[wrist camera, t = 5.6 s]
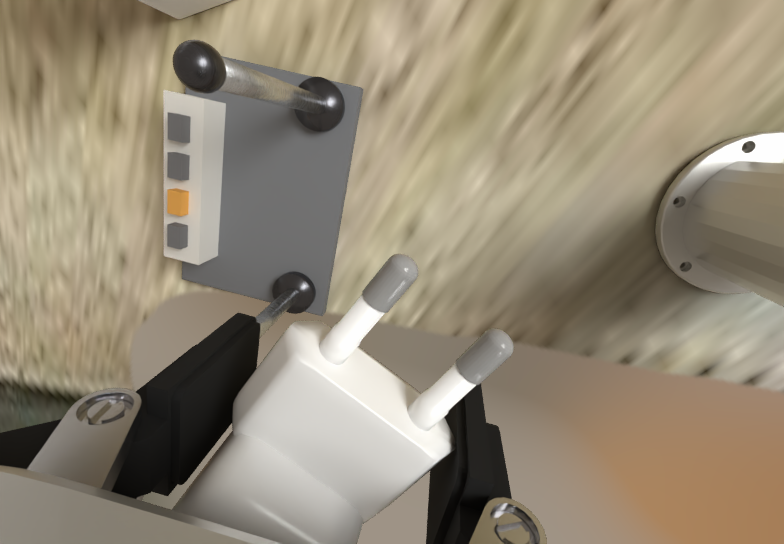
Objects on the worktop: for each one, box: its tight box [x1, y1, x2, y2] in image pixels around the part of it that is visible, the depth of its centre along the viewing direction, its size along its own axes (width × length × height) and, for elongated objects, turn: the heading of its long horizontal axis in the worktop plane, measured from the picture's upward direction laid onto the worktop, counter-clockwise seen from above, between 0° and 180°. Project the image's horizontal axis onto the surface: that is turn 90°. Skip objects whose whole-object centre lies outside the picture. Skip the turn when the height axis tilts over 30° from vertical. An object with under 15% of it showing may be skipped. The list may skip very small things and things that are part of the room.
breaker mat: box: [164, 56, 363, 316], centre depth 32 cm, size 15×21×5 cm
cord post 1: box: [173, 40, 345, 132], centre depth 23 cm, size 4×4×17 cm
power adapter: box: [172, 254, 514, 544], centre depth 10 cm, size 11×5×6 cm, turn 142°
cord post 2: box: [255, 271, 316, 338], centre depth 29 cm, size 4×4×17 cm
